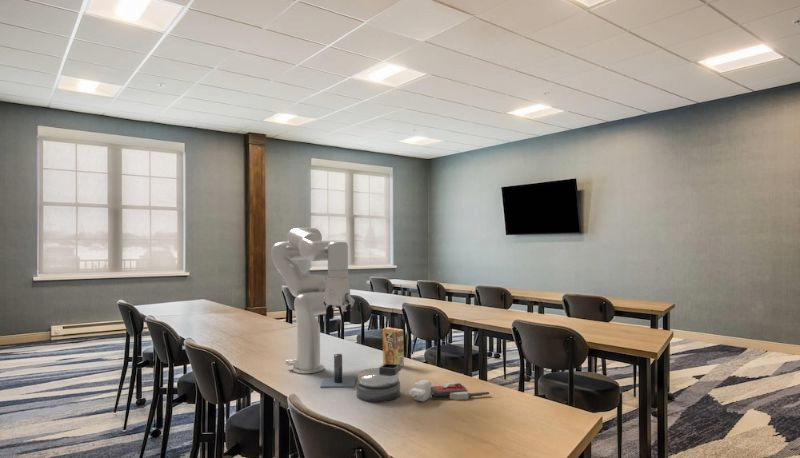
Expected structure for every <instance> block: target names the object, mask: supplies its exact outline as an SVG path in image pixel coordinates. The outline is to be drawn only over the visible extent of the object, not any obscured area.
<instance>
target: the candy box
mask: <svg viewBox="0 0 800 458" xmlns="http://www.w3.org/2000/svg"><path fill="white" fill-rule="evenodd" d="M404 353H405V352H404V329H401V328H397V327H396V328H395V327H390V326H389V327H385V328H382V365H384V364H385V363H387V364H399V365H401V367H403V366H405V362H404V361H405V358H404V357H405V354H404Z"/></svg>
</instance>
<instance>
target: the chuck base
mask: <svg viewBox="0 0 800 458" xmlns="http://www.w3.org/2000/svg"><path fill="white" fill-rule="evenodd" d="M400 397H401V382H400V381H399V383H398V384H397V385H396V386H394V387H390V388H384V389H370V388H364V387H361V386H360V385H358V381H357V382H356V398H357V399H358V400H360V401H361V402H362V401H363V402H366V403H374V404H375V403H376V404H377V403H387V402H389V403H390V402H392V401H396V400H397V399H399V398H400Z"/></svg>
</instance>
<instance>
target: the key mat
mask: <svg viewBox="0 0 800 458" xmlns="http://www.w3.org/2000/svg"><path fill="white" fill-rule="evenodd" d="M355 382H356V377H353V376H352V377H342V382H341V383H335V382H334V377H323V379H322V382H321V384H320V388H321V389H324V388H325V389H326V388H327V389H328V388H329V389H330V388H332V389H334V388H335V389H336V388H339V389H340V388H354V387H355V384H356V383H355Z"/></svg>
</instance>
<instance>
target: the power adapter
mask: <svg viewBox="0 0 800 458" xmlns="http://www.w3.org/2000/svg"><path fill="white" fill-rule="evenodd" d="M431 387H432V382H431V380H428V379H420V380H418V381H416V382H415V383H414V384H413V388H411V389H410V390H409V391H408V393H407V394H406V397H409V396H411V397H413V398H414V400H415V401H418V402H425V401H427V400H428V399H430V398H432V396H431Z"/></svg>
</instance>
